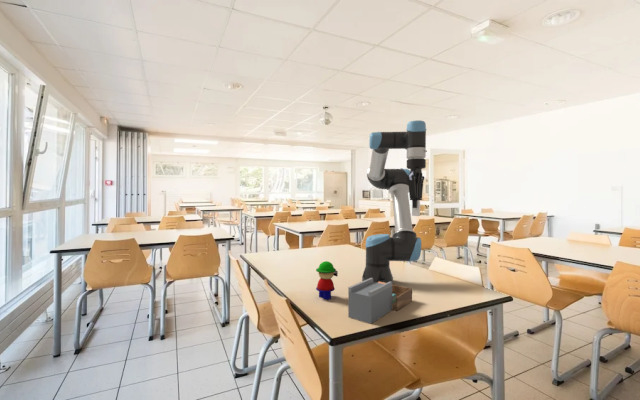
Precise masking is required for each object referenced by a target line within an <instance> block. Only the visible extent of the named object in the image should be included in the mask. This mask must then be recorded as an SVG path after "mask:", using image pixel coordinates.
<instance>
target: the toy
mask: <svg viewBox="0 0 640 400" xmlns="http://www.w3.org/2000/svg"><path fill="white" fill-rule="evenodd" d="M315 271H316V272H317V273H318V276H319V280H318V282H317V285H316V288H315V290H316V291H317V292H318V297H319V298H322V299H324V300H327V301H328V300H332V299H331V298H332V292H333V291H335V289H336V288H335V286H334V285H335V284H334V282H333V280H332V279H333V277H338V270H337V269H336V268H335V267H334V265H333V263H332V262H331V261H327V260H326V261H323V262H320V264H319V266H318V268H316V269H315Z"/></svg>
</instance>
